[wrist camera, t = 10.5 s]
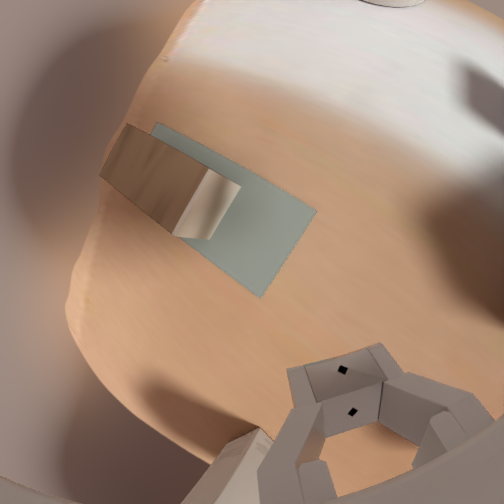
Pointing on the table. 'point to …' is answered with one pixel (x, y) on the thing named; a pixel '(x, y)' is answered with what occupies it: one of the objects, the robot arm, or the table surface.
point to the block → (168, 184)
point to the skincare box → (233, 472)
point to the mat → (246, 219)
